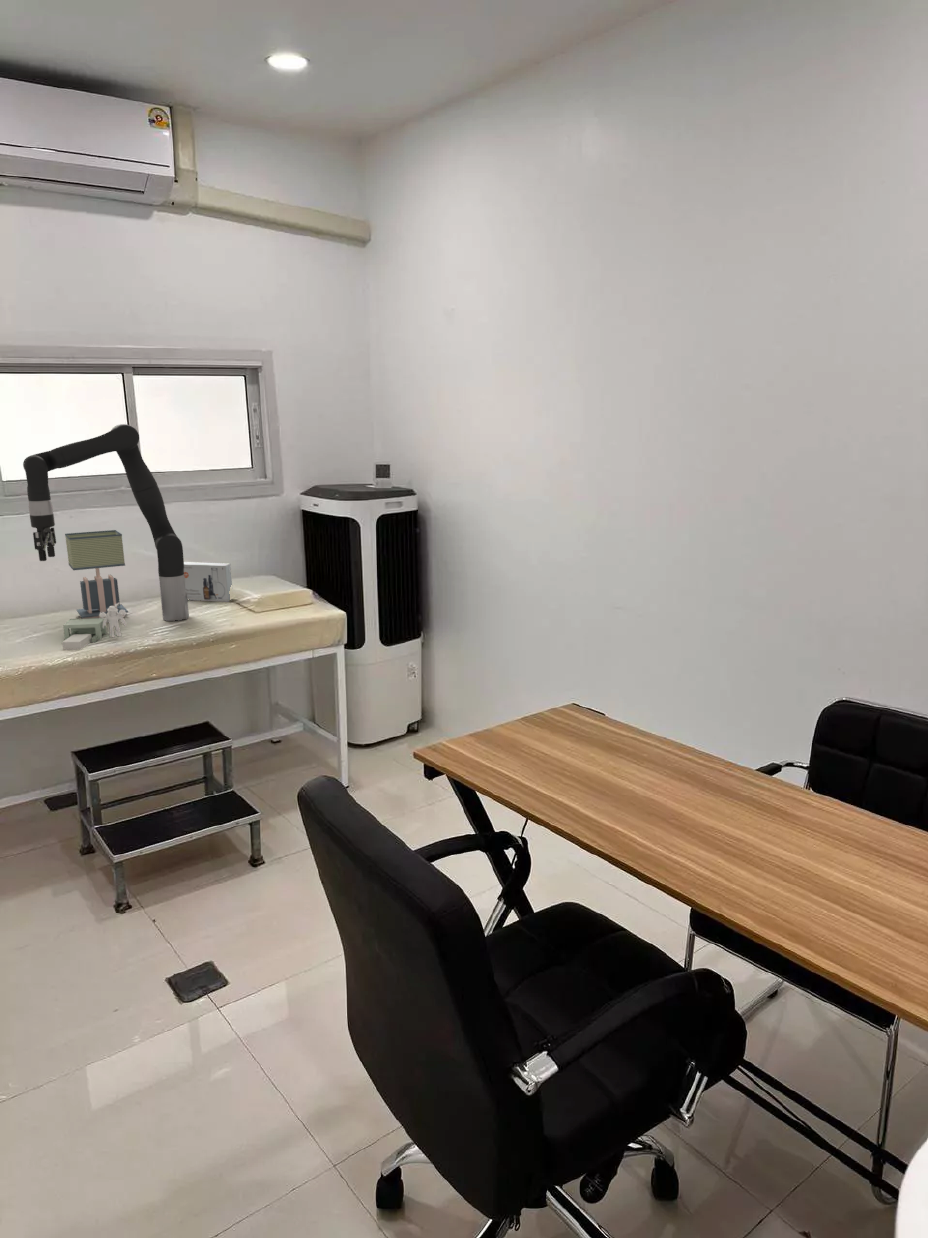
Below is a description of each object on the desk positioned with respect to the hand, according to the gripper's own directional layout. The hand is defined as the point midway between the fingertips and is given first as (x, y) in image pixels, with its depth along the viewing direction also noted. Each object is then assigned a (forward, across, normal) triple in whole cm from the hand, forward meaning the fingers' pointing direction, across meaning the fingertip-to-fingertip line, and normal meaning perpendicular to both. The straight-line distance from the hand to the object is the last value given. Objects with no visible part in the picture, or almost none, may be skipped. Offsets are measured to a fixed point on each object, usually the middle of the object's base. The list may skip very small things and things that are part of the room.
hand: (47, 558), depth 293 cm
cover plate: (+28, -18, -12) cm, 36 cm away
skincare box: (+28, +48, -46) cm, 72 cm away
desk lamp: (+28, +24, -9) cm, 38 cm away
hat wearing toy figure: (+28, -8, -22) cm, 36 cm away
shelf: (+27, -9, -12) cm, 31 cm away
